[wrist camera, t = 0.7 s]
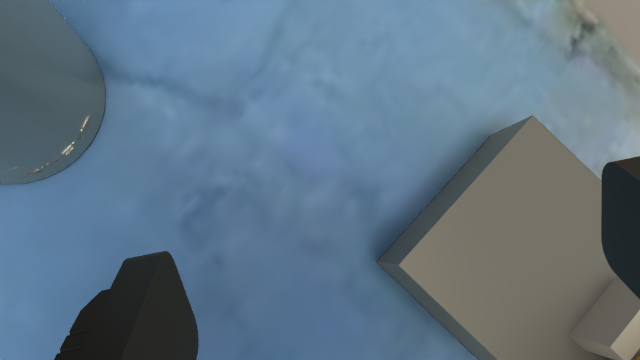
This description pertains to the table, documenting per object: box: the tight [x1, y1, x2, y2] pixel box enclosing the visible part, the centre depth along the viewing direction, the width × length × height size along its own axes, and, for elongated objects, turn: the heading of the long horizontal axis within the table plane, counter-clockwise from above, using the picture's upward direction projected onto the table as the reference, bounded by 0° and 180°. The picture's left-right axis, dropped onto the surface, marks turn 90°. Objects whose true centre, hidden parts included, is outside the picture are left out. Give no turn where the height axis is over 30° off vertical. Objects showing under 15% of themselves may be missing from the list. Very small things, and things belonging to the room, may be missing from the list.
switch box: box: [377, 116, 640, 360], centre depth 28 cm, size 24×10×8 cm, turn 46°
